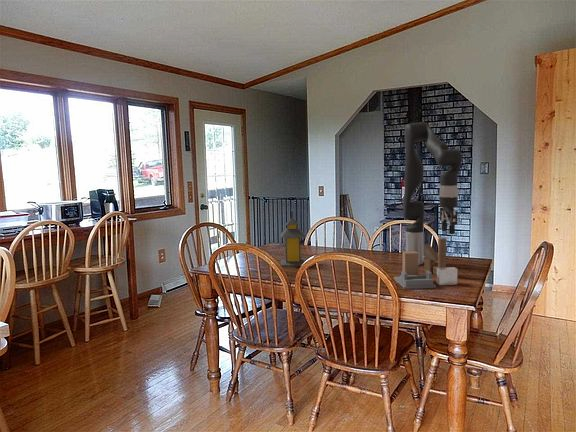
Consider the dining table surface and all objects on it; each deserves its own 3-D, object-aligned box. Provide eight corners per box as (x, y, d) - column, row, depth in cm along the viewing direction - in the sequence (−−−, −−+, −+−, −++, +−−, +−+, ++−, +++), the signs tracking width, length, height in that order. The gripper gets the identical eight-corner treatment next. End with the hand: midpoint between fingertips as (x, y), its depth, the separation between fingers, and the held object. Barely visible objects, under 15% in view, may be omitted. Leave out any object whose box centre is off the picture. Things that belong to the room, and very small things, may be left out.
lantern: (280, 266, 240) (278, 211, 236) (280, 261, 254) (279, 209, 250) (306, 266, 240) (305, 210, 236) (305, 260, 254) (303, 208, 250)
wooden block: (428, 271, 220) (428, 235, 218) (447, 275, 212) (448, 238, 210) (423, 272, 218) (424, 236, 216) (443, 276, 210) (443, 239, 208)
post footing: (393, 278, 209) (393, 251, 207) (423, 277, 209) (423, 250, 207) (403, 289, 192) (403, 259, 190) (435, 287, 192) (436, 258, 191)
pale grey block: (436, 283, 200) (436, 267, 199) (454, 282, 200) (454, 267, 199) (439, 285, 196) (439, 269, 196) (457, 284, 197) (457, 269, 196)
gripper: (434, 194, 200) (433, 230, 202) (446, 197, 186) (445, 235, 188) (450, 194, 201) (450, 229, 203) (463, 196, 187) (463, 234, 188)
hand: (448, 232), depth 195 cm, fingers open, 8 cm apart
